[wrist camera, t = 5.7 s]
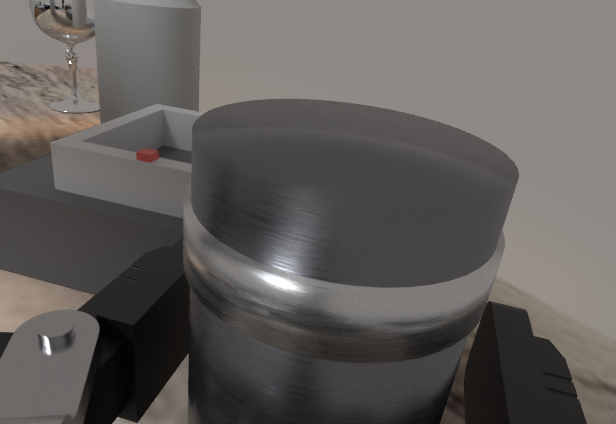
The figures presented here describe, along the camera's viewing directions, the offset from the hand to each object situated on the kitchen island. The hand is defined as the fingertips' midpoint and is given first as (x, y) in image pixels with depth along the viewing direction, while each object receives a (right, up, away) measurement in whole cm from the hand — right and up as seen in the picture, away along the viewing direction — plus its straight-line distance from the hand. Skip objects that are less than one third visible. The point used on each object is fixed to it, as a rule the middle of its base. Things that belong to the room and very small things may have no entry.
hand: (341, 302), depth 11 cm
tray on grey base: (-7, 0, +14) cm, 15 cm away
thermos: (-1, -7, +1) cm, 7 cm away
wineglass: (-22, +12, +35) cm, 43 cm away
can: (-14, +8, +29) cm, 33 cm away
